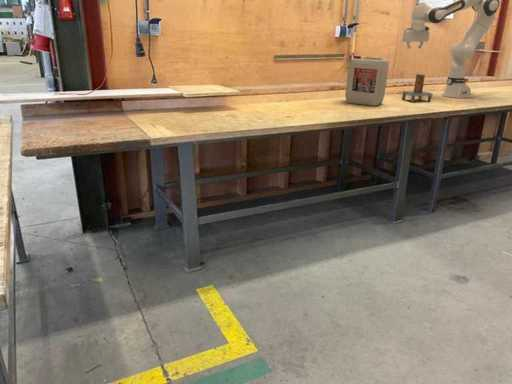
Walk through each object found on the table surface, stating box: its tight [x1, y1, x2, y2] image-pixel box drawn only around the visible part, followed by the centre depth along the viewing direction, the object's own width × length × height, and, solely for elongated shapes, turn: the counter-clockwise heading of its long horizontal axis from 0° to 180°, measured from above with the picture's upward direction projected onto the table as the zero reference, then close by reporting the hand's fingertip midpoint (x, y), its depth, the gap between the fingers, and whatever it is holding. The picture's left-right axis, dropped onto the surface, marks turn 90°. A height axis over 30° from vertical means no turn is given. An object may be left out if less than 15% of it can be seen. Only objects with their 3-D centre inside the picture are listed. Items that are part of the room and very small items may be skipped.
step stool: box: [401, 90, 434, 104], centre depth 295 cm, size 16×12×6 cm
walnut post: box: [413, 73, 426, 93], centre depth 292 cm, size 4×4×12 cm
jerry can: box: [344, 55, 390, 107], centre depth 276 cm, size 24×19×30 cm
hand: (414, 48), depth 302 cm, fingers open, 8 cm apart
